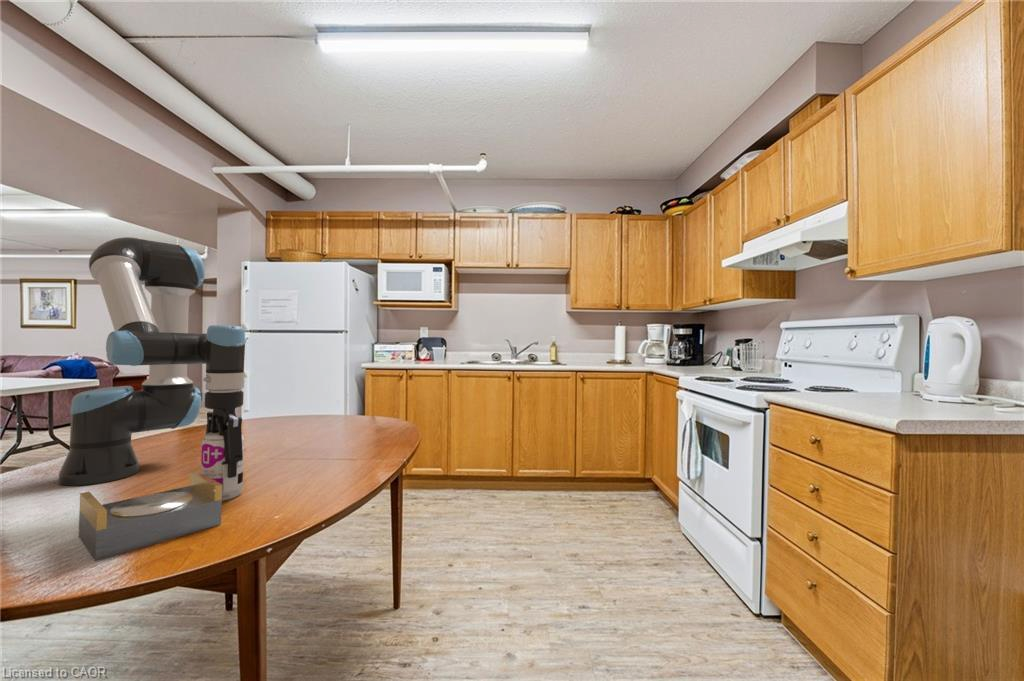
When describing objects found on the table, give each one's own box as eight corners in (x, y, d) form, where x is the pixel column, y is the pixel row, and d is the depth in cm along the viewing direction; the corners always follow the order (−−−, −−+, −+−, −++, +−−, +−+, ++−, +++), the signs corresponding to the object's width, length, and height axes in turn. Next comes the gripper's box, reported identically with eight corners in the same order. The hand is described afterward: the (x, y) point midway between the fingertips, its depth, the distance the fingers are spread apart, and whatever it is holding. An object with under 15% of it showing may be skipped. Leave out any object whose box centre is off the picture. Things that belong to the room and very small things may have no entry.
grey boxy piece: (78, 536, 77) (80, 493, 77) (195, 507, 91) (196, 470, 91) (95, 561, 69) (96, 512, 69) (220, 524, 83) (222, 484, 83)
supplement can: (220, 504, 93) (222, 437, 93) (190, 501, 95) (192, 435, 95) (250, 492, 101) (252, 430, 101) (222, 489, 103) (224, 428, 103)
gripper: (189, 388, 101) (186, 481, 101) (224, 395, 89) (221, 501, 89) (224, 386, 107) (222, 473, 107) (262, 393, 95) (259, 492, 95)
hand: (221, 486), depth 98 cm, fingers open, 8 cm apart
